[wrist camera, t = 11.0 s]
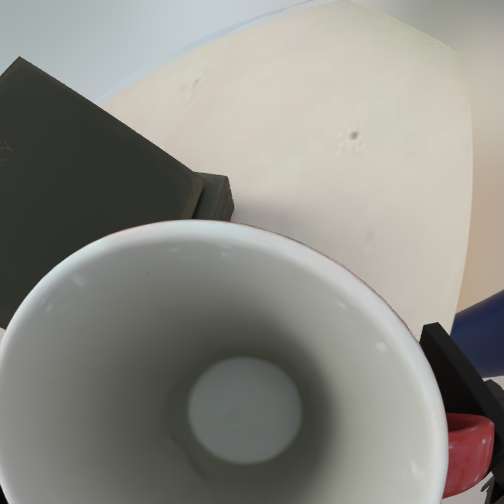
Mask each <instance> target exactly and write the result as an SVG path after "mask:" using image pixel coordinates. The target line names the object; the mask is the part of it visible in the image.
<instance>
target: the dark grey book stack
mask: <svg viewBox="0 0 504 504" xmlns="http://www.w3.org/2000/svg"><path fill="white" fill-rule="evenodd" d="M233 209H234V203H233V199H232V194H231V189H230V184H229V179H228V177H227V176H222V175H215V174H207V173H199V172H193V171H192V170H190V169H189V168H188V167H186V166H185V165H183V164H182V163H181V162H179V161H178V160H176V159H175V158H173V157H172V156H170V155H169V154H168V153H166V152H165V151H163V150H162V149H160V148H159V147H158V146H156V145H155V144H153V143H152V142H150V141H149V140H147V139H146V138H144V137H143V136H141V135H140V134H139V133H137V132H136V131H134V130H133V129H131V128H130V127H128V126H127V125H125V124H124V123H122V122H121V121H119V120H118V119H116V118H115V117H113V116H112V115H110V114H109V113H107V112H106V111H104V110H103V109H101V108H100V107H98V106H97V105H95V104H94V103H92V102H91V101H89V100H88V99H86V98H85V97H83V96H82V95H80V94H78V93H77V92H75V91H74V90H72V89H71V88H69V87H67V86H66V85H65V84H63V83H61V82H60V81H58V80H57V79H55V78H54V77H52V76H50V75H49V74H47V73H45V72H44V71H42V70H41V69H39V68H38V67H36V66H34V65H33V64H31V63H30V62H28V61H26V60H25V59H23V58H21V57H20V56H19V57H18V58H17V59H16V60H15V61H14V62H13V63H12V64H11V65H10V66H9V68H7V70H5V72H4V73H3V74H2V75H1V76H0V327H1V328H3V329H5V330H6V329H7V327H8V325H9V323H10V321H11V319H12V318H13V316H14V314H15V312H16V311H17V309H18V308H19V306H20V305H21V303H22V302H23V301H24V299H25V298H26V297H27V295H28V294H29V293H30V292H31V291H32V290H33V288H34V287H35V286H36V285H37V284H38V283H39V281H40V280H41V279H42V278H43V277H44V276H46V275H47V274H48V273H49V272H50V271H51V270H52V269H53V268H54V267H55V266H56V265H58V264H59V263H61V262H62V261H63V260H65V259H66V258H67V257H69V256H70V255H71V254H73V253H75V252H76V251H78V250H80V249H81V248H83V247H85V246H86V245H88V244H90V243H92V242H94V241H96V240H99V239H101V238H103V237H105V236H108V235H110V234H113V233H116V232H119V231H122V230H125V229H129V228H133V227H138V226H142V225H147V224H152V223H157V222H162V221H173V220H192V219H193V220H216V221H227V222H230V218H231V215H232V212H233Z"/></svg>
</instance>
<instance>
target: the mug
mask: <svg viewBox="0 0 504 504" xmlns="http://www.w3.org/2000/svg"><path fill="white" fill-rule="evenodd" d="M493 444H494V423H493V422H492V421H491V420H490V419H488V418H486V417H484V416H478V415H471V414H461V413H445V409H444V404H443V400H442V396H441V393H440V390H439V387H438V384H437V381H436V378H435V376H434V373H433V371H432V368H431V366H430V364H429V362H428V360H427V358H426V357H425V354H424V352H423V350H422V348H421V345H420V343H419V342H418V341H417V340H416V338H415V337H414V336H413V334H412V333H411V331H410V330H409V328H408V327H407V325H406V324H405V323H404V321H403V320H402V319H401V318H400V317H399V316H398V314H397V313H396V312H395V311H394V310H393V309H392V308H391V307H390V305H389V304H388V303H387V302H386V301H385V300H384V299H383V298H382V297H381V296H380V295H379V294H378V293H376V292H375V291H374V290H373V289H372V288H371V287H370V286H368V285H367V284H366V283H365V282H363V281H362V280H361V279H360V278H358V277H357V276H356V275H355V274H353V273H352V272H351V271H350V270H348V269H347V268H346V267H344V266H342V265H341V264H339V263H338V262H336V261H334V260H333V259H331V258H329V257H328V256H326V255H324V254H322V253H320V252H318V251H317V250H315V249H313V248H311V247H309V246H307V245H305V244H303V243H301V242H299V241H296V240H294V239H291V238H289V237H286V236H283V235H280V234H277V233H274V232H270V231H267V230H264V229H261V228H257V227H254V226H250V225H246V224H242V223H234V222H227V221H216V220H193V219H192V220H173V221H162V222H157V223H152V224H147V225H142V226H138V227H133V228H129V229H125V230H122V231H119V232H116V233H113V234H110V235H108V236H105V237H103V238H101V239H99V240H96V241H94V242H92V243H90V244H88V245H86V246H85V247H83V248H81V249H80V250H78V251H76V252H75V253H73V254H71V255H70V256H69V257H67V258H66V259H65V260H63V261H62V262H61V263H59V264H58V265H56V266H55V267H54V268H53V269H52V270H51V271H50V272H49V273H48V274H47V275H46V276H44V277H43V278H42V279H41V280H40V281H39V283H38V284H37V285H36V286H35V287H34V288H33V290H32V291H31V292H30V293H29V294H28V295H27V297H26V298H25V299H24V301H23V302H22V303H21V305H20V306H19V308H18V309H17V311H16V312H15V314H14V316H13V318H12V319H11V321H10V323H9V325H8V327H7V329H6V331H5V333H4V335H3V337H2V339H1V342H0V485H1V488H2V490H3V493H4V495H5V497H6V499H7V501H8V503H9V504H441V501H442V499H444V498H447V497H451V496H454V495H457V494H459V493H462V492H464V491H466V490H468V489H470V488H472V487H473V486H475V485H476V484H478V483H479V482H480V481H481V480H482V479H483V478H484V476H485V474H486V473H487V471H488V468H489V465H490V462H491V459H492V452H493Z"/></svg>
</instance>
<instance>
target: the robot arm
mask: <svg viewBox="0 0 504 504" xmlns="http://www.w3.org/2000/svg"><path fill="white" fill-rule="evenodd" d="M419 343H420V345H421V348H422V350H423V352H424V354H425V357H426V358H427V360H428V362H429V364H430V366H431V368H432V371H433V373H434V376H435V378H436V381H437V384H438V387H439V390H440V393H441V396H442V400H443V404H444V409H445V413H461V414H471V415H478V416H484V417H486V418H488V419H490V420H491V421H492V422H493V423H494V444H493V452H492V459H491V462H490V465H489V468H488V471H487V473H486V474H485V476H484V478H485V477H486V476H487V475H488V474H489V473H490V472H492V474H493V476H492V478H491V479H490V480H489V481H488V482H487V483H486V484H485V485H484V486H483V487H482V489H481V491H482V492H483V491H484V490H485V489H486V488H487V487H488V486H489V488H488V490H487V491H486V492H487V496H486V500H485V504H504V390H503V389H502V388H501V386H500V385H498V384H497V383H495V382H494V381H492V380H491V379H490V380H487V381H485V382H484V381H483V379H482V378H481V377H480V375H479V374H478V372H477V371H476V370H475V368H474V367H473V366H472V364H471V363H470V362H469V360H468V359H467V358H466V356H465V355H464V354H463V353H462V351H461V350H460V349H459V347H458V346H457V345H456V344H455V342H454V341H453V340H452V339H451V337H450V336H449V335H448V334H447V332H446V331H445V330H444V329H443V327H442V326H441V325H440V324H439V323H438V322H436V323H431V324H427V325H424V326H423V330H422V334H421V338H420V342H419ZM484 478H483V479H484ZM483 479H482V480H483ZM0 504H9V503H8V501H7V499H6V497H5V495H4V493H3V490H2V488H1V485H0Z"/></svg>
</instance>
